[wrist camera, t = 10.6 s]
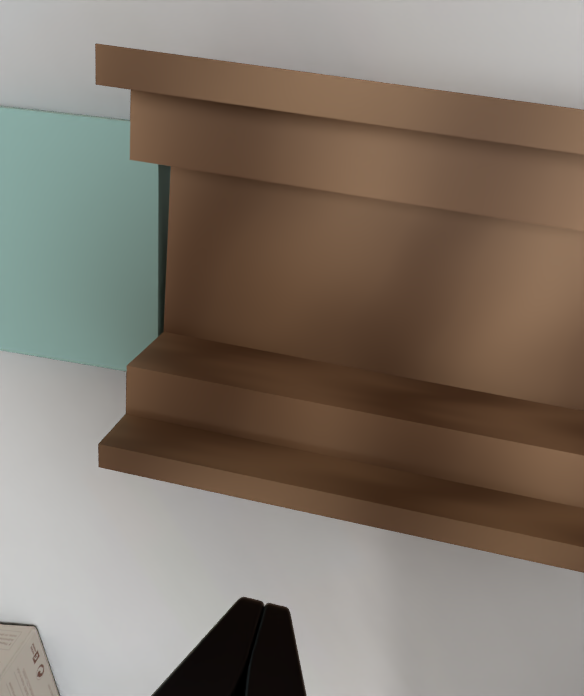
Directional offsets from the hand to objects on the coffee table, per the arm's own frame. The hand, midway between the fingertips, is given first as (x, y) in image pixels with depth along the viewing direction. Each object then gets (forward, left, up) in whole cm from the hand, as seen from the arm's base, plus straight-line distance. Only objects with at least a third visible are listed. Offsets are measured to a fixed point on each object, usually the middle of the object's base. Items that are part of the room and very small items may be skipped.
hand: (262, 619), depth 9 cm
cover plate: (+14, -2, -12) cm, 19 cm away
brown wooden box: (-3, -3, -12) cm, 12 cm away
